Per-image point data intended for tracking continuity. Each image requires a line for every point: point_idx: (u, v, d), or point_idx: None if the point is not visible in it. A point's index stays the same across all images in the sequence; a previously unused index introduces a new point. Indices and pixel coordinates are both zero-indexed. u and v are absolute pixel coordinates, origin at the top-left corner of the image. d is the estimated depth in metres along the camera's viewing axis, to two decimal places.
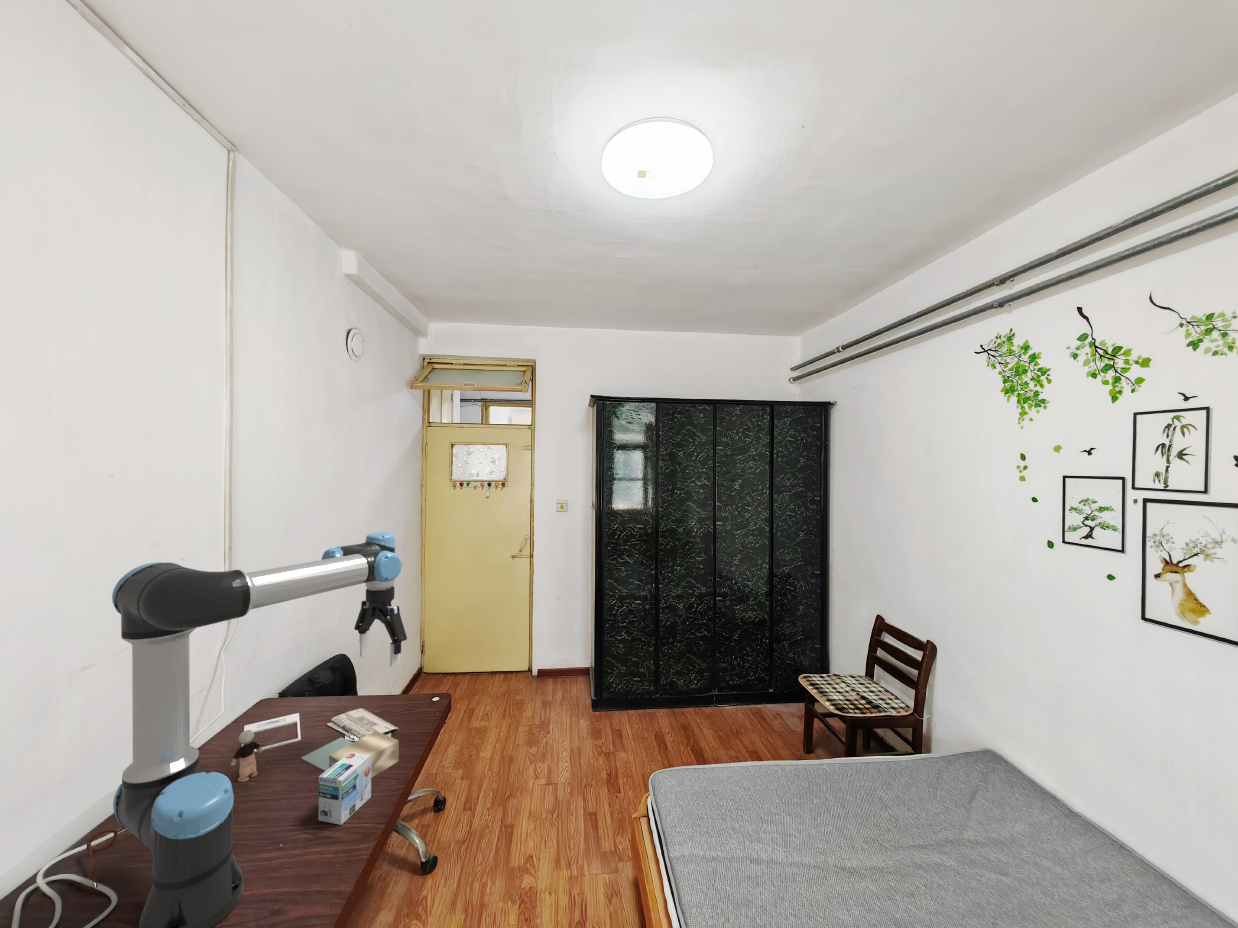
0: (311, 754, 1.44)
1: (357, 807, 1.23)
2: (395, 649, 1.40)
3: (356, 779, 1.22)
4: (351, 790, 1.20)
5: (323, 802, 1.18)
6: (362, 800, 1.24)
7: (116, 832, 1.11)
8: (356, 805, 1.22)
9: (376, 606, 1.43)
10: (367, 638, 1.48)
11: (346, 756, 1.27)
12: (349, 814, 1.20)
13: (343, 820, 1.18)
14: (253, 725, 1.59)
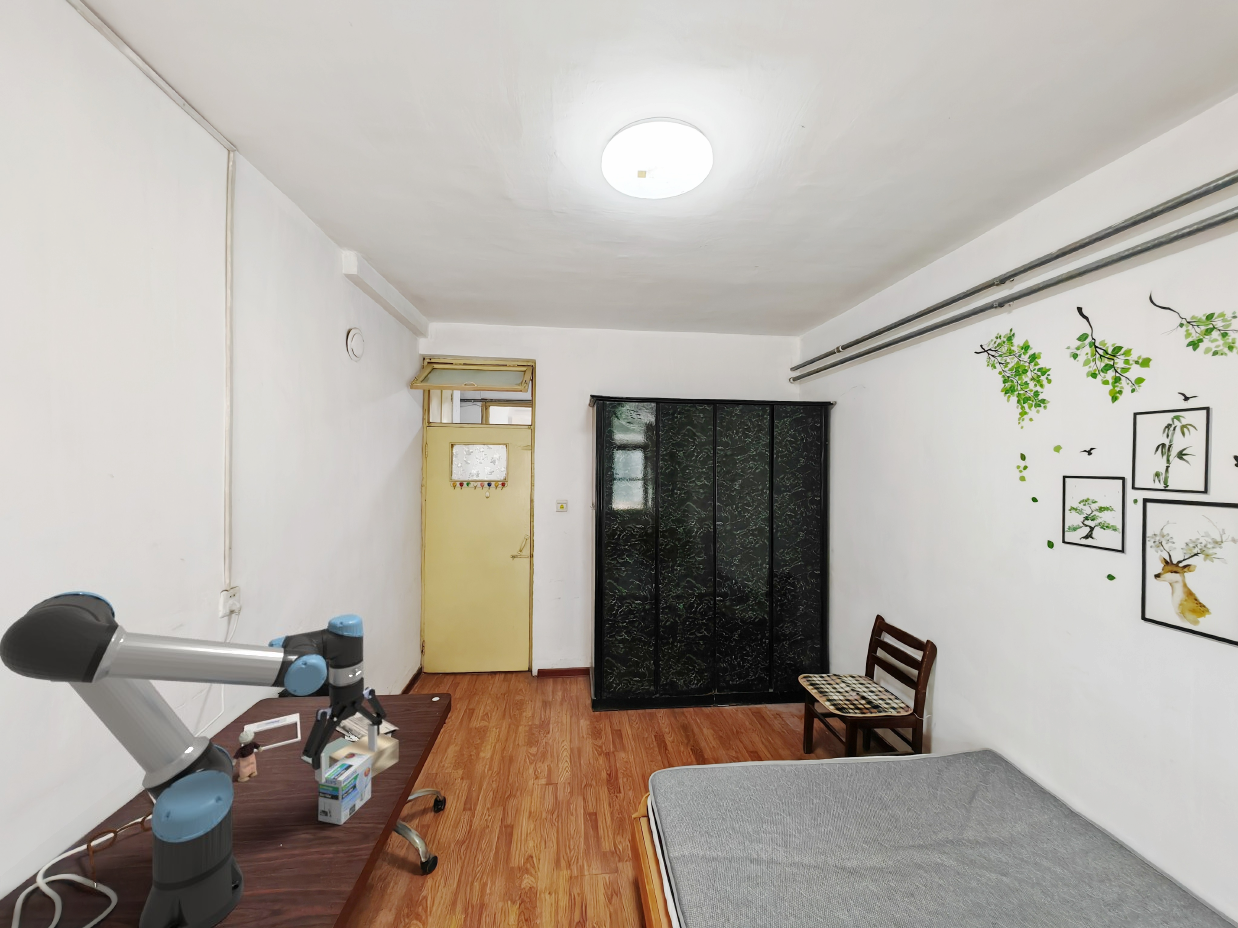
0: None
1: (357, 807, 1.23)
2: None
3: (356, 779, 1.22)
4: (351, 790, 1.20)
5: (323, 802, 1.18)
6: (362, 800, 1.24)
7: (116, 832, 1.11)
8: (356, 805, 1.22)
9: None
10: (372, 732, 1.29)
11: (346, 756, 1.27)
12: (349, 814, 1.20)
13: (343, 820, 1.18)
14: (253, 725, 1.59)
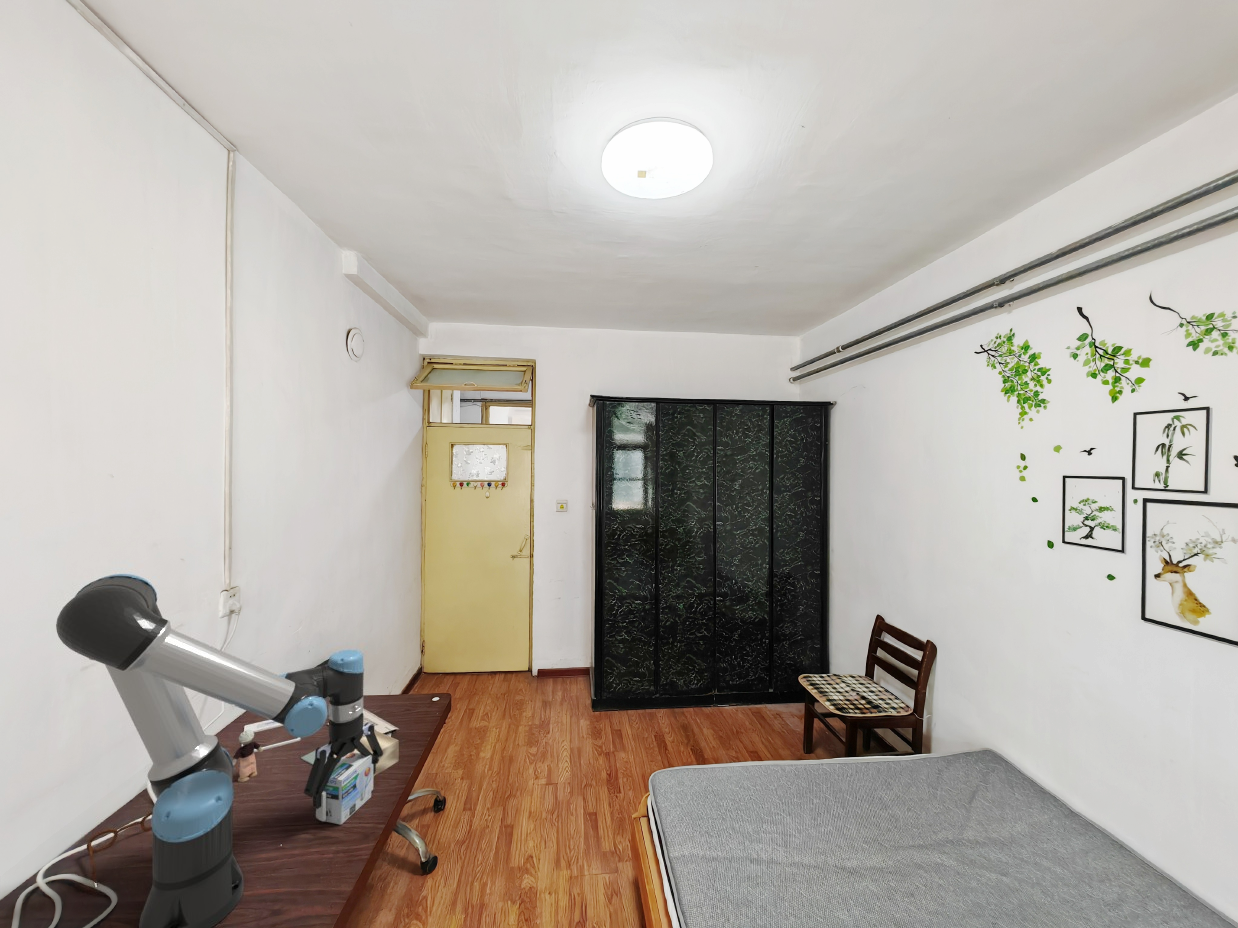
0: (311, 754, 1.44)
1: (357, 807, 1.23)
2: None
3: (357, 779, 1.22)
4: (351, 790, 1.20)
5: None
6: (362, 800, 1.24)
7: (116, 832, 1.11)
8: (356, 805, 1.22)
9: None
10: None
11: (346, 756, 1.27)
12: (349, 814, 1.20)
13: (343, 820, 1.18)
14: (253, 725, 1.59)
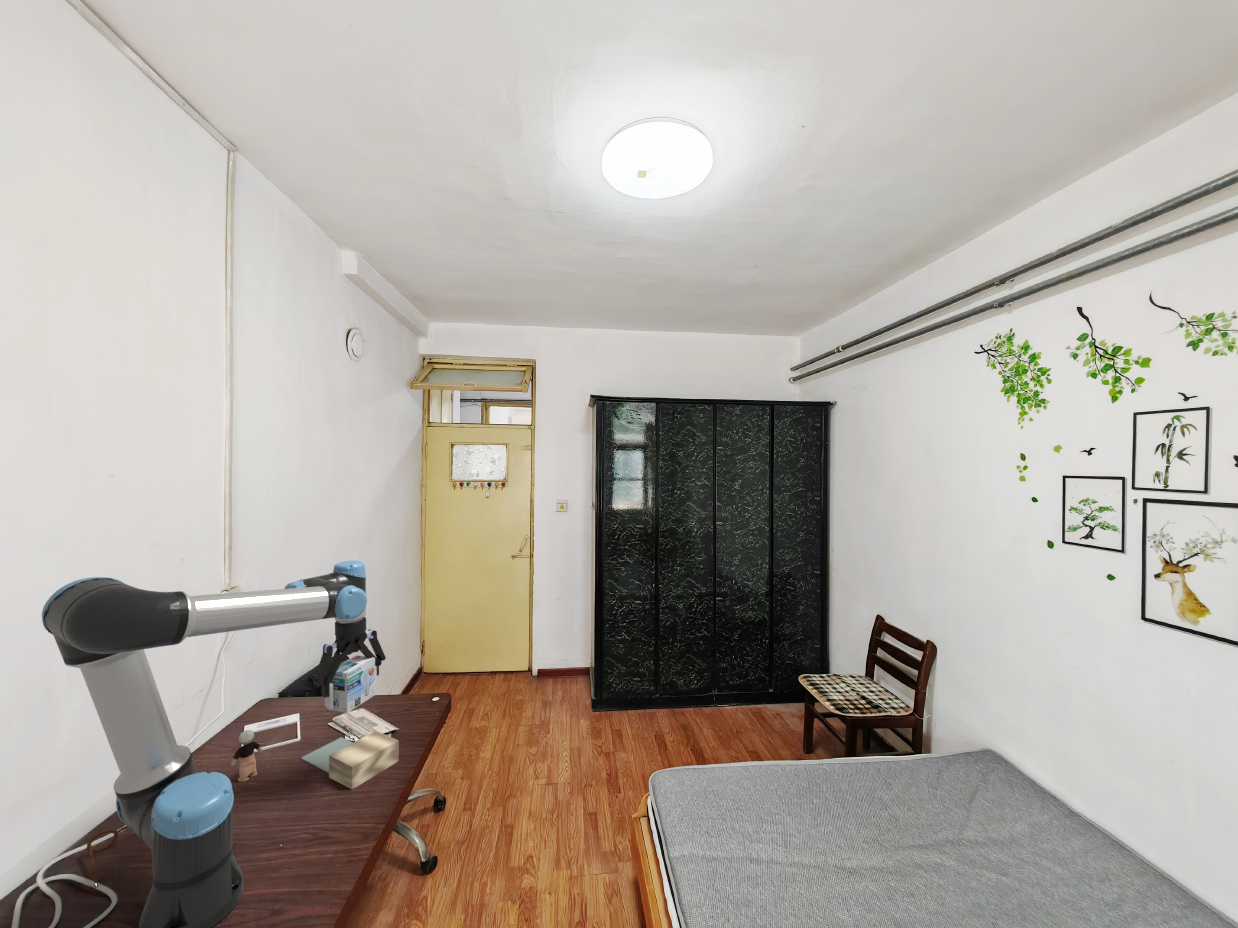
0: (311, 754, 1.44)
1: (362, 701, 1.35)
2: None
3: (361, 675, 1.35)
4: (356, 684, 1.33)
5: None
6: (367, 696, 1.37)
7: (116, 832, 1.11)
8: (361, 698, 1.35)
9: None
10: None
11: (352, 657, 1.39)
12: (355, 705, 1.33)
13: (349, 709, 1.31)
14: (253, 725, 1.59)
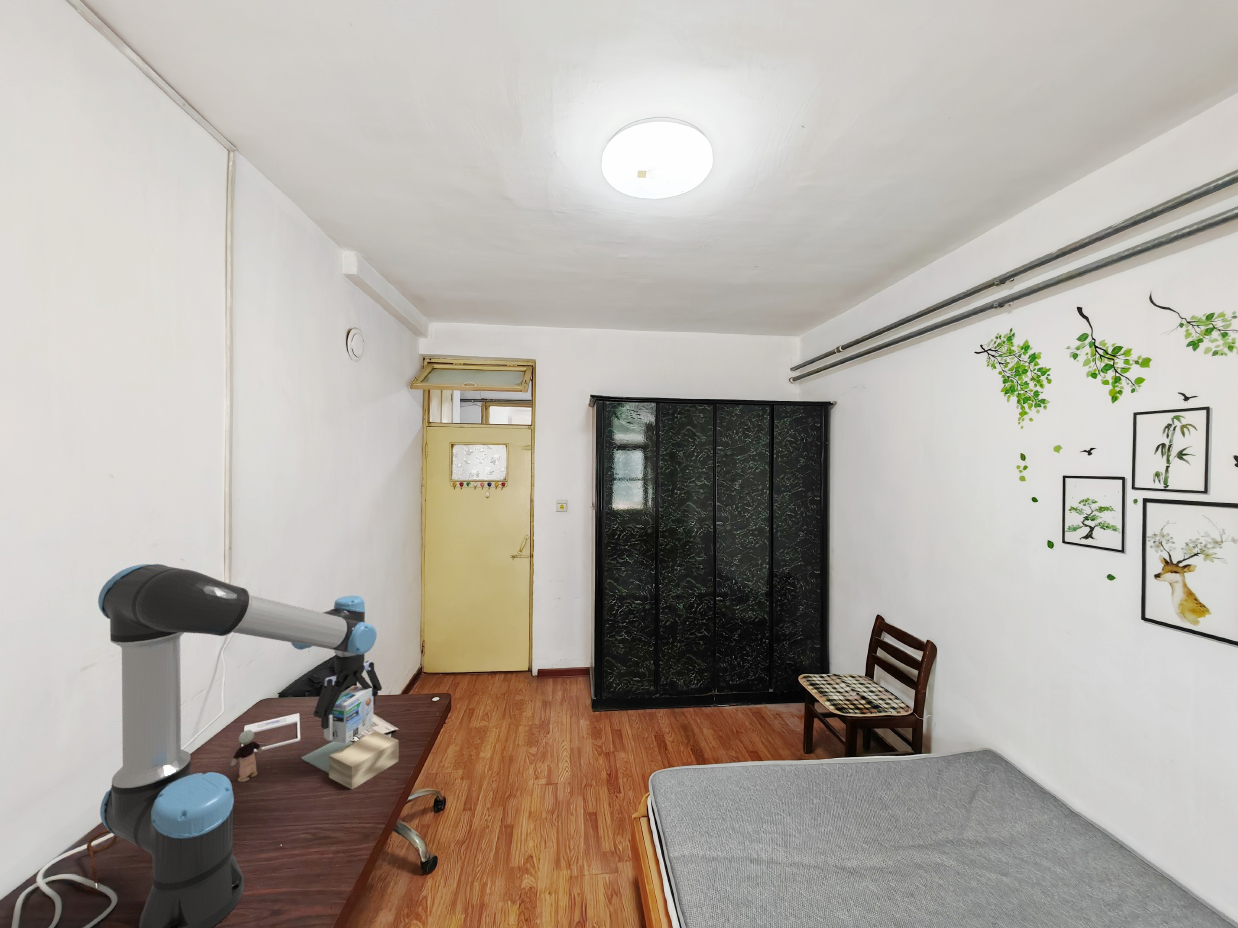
0: (311, 754, 1.44)
1: (360, 731, 1.41)
2: None
3: (359, 706, 1.41)
4: (354, 715, 1.39)
5: None
6: (364, 725, 1.43)
7: None
8: (359, 728, 1.41)
9: None
10: None
11: (350, 688, 1.45)
12: (353, 735, 1.39)
13: (347, 739, 1.37)
14: (253, 725, 1.59)
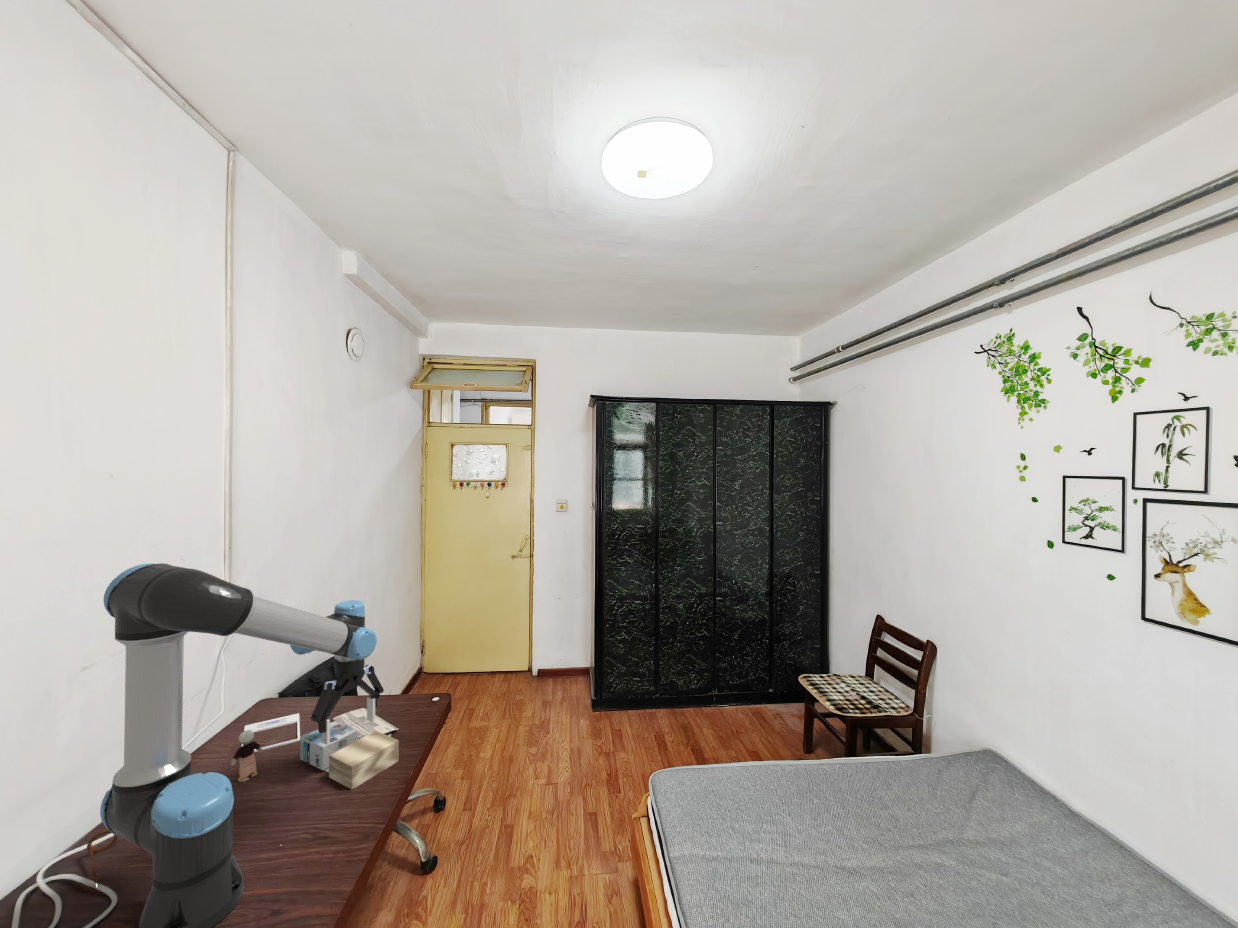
0: None
1: (340, 737, 1.42)
2: None
3: None
4: (320, 735, 1.42)
5: (312, 760, 1.39)
6: (344, 733, 1.43)
7: None
8: (337, 737, 1.42)
9: None
10: (371, 704, 1.47)
11: None
12: (330, 741, 1.39)
13: (324, 745, 1.37)
14: (253, 725, 1.59)
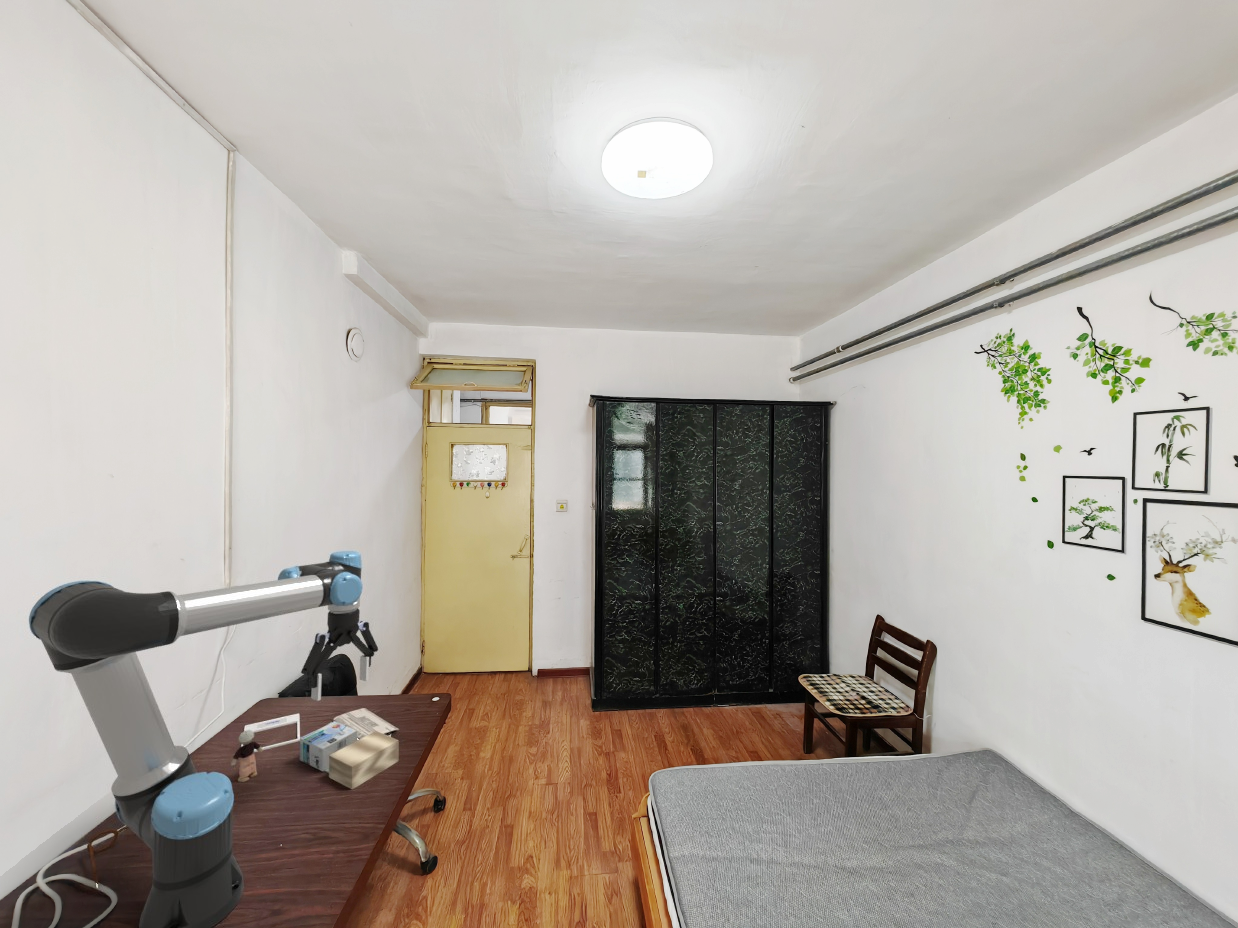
0: None
1: (339, 738, 1.41)
2: None
3: (323, 731, 1.44)
4: (319, 736, 1.42)
5: (312, 761, 1.39)
6: (344, 734, 1.43)
7: (117, 833, 1.11)
8: (336, 737, 1.41)
9: None
10: (364, 663, 1.39)
11: None
12: (330, 742, 1.39)
13: (323, 746, 1.37)
14: (254, 725, 1.59)
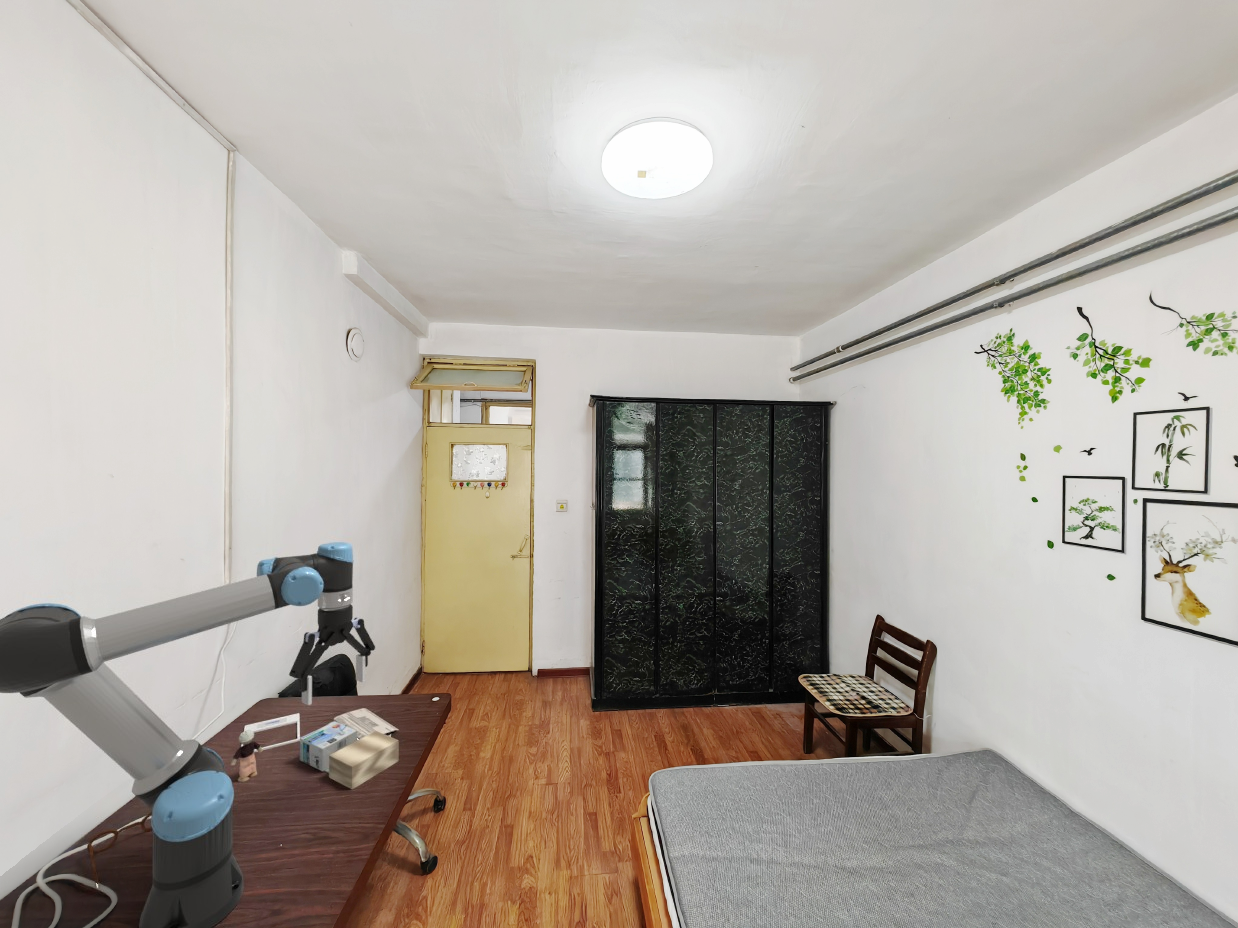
0: None
1: (339, 738, 1.41)
2: None
3: (323, 731, 1.44)
4: (319, 736, 1.42)
5: (312, 761, 1.39)
6: (344, 734, 1.43)
7: (117, 833, 1.10)
8: (336, 737, 1.41)
9: None
10: (360, 663, 1.29)
11: None
12: (330, 742, 1.39)
13: (323, 746, 1.37)
14: (254, 725, 1.59)
